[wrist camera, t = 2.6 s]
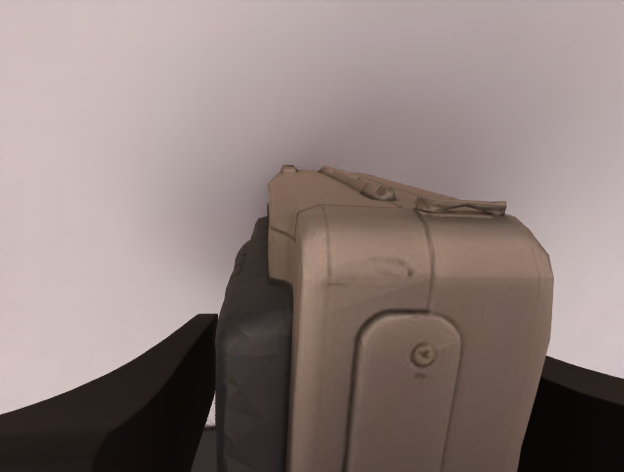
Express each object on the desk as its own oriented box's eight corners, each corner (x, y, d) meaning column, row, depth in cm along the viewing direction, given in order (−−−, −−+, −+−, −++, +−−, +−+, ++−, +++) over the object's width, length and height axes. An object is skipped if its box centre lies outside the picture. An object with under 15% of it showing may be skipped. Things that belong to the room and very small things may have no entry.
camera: (362, 410, 17) (478, 768, 7) (240, 409, 16) (186, 803, 6) (397, 170, 14) (664, 220, 4) (253, 157, 13) (193, 182, 4)
